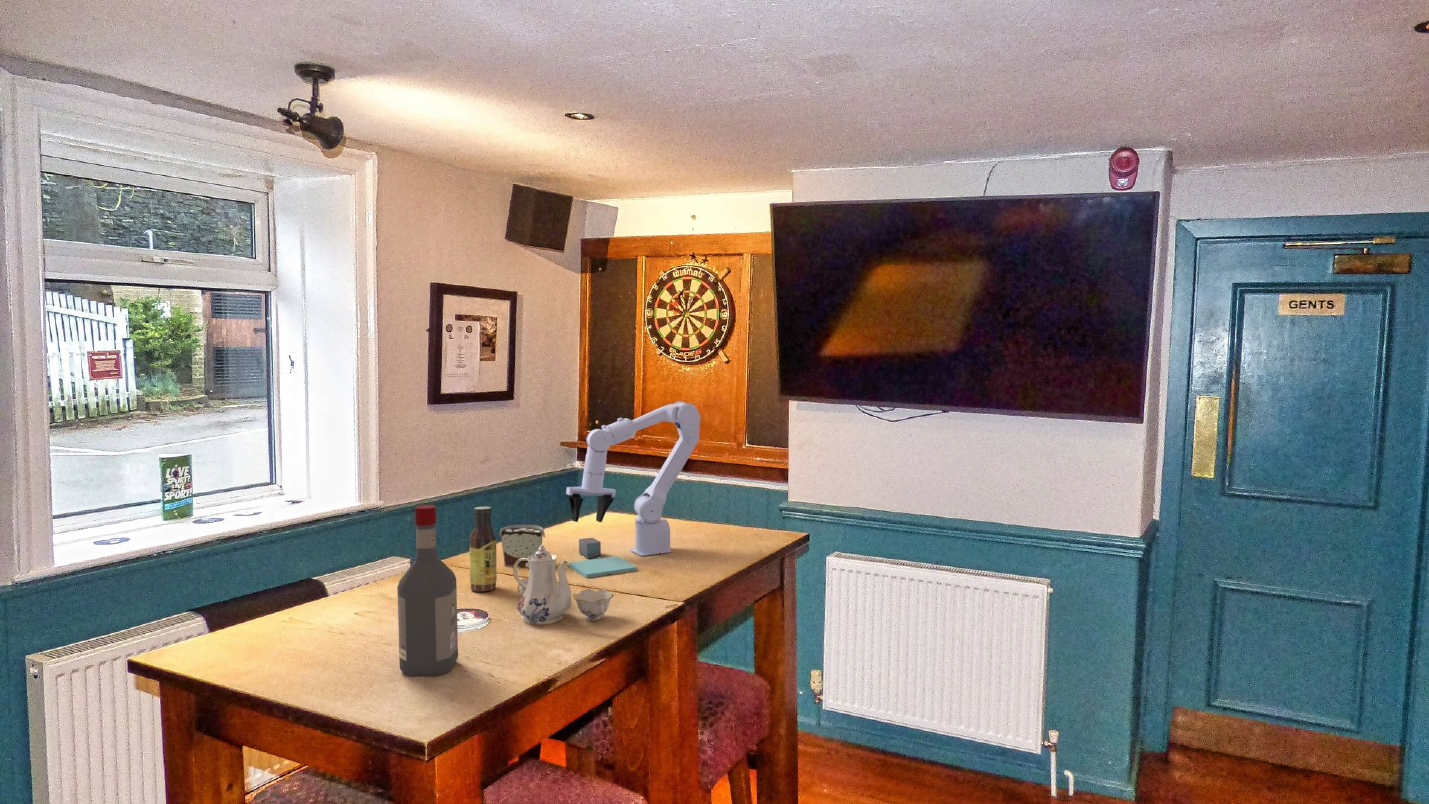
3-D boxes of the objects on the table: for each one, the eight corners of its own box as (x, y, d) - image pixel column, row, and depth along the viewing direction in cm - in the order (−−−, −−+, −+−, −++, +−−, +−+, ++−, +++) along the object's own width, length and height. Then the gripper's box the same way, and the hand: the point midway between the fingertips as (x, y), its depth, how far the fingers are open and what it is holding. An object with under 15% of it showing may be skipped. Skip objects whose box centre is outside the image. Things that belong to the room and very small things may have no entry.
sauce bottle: (489, 593, 207) (487, 511, 205) (465, 592, 208) (463, 510, 207) (501, 586, 213) (500, 505, 212) (478, 584, 214) (476, 504, 213)
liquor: (460, 658, 166) (457, 501, 163) (447, 677, 156) (443, 511, 154) (412, 658, 165) (407, 502, 163) (396, 677, 156) (391, 512, 154)
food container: (551, 561, 237) (550, 524, 236) (544, 567, 231) (544, 530, 230) (507, 560, 238) (506, 523, 237) (499, 566, 232) (498, 528, 231)
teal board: (617, 559, 238) (617, 556, 238) (637, 570, 227) (637, 567, 227) (568, 566, 231) (568, 562, 231) (586, 578, 220) (586, 574, 220)
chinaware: (626, 622, 191) (630, 547, 191) (577, 637, 177) (581, 555, 177) (530, 602, 205) (534, 532, 205) (477, 615, 191) (481, 539, 191)
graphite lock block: (592, 553, 246) (592, 537, 245) (600, 558, 241) (600, 541, 240) (579, 555, 244) (578, 539, 243) (587, 559, 239) (586, 543, 238)
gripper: (609, 471, 248) (602, 518, 248) (563, 468, 239) (556, 517, 240) (622, 475, 243) (615, 524, 243) (576, 473, 234) (569, 523, 234)
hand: (587, 521), depth 241 cm, fingers open, 7 cm apart
